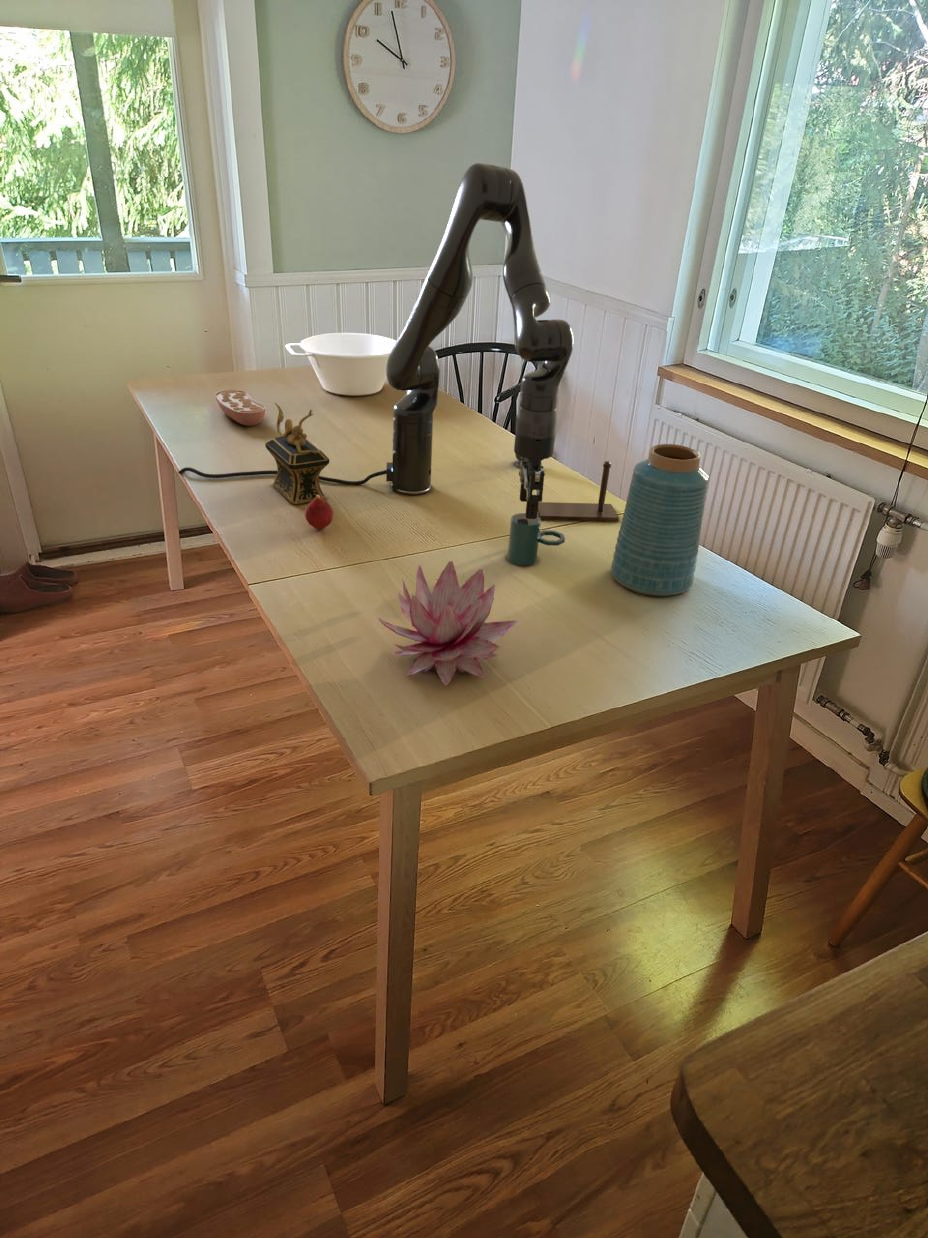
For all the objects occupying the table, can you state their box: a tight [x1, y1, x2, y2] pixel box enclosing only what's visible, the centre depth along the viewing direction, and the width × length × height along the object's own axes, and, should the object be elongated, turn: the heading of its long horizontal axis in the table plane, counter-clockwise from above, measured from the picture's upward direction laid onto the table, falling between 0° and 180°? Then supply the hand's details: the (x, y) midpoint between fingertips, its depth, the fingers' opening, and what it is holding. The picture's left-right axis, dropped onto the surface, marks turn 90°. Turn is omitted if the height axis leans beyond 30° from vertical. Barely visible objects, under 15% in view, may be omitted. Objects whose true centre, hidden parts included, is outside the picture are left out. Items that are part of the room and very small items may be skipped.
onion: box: [304, 495, 334, 531], centre depth 177 cm, size 6×6×8 cm
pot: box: [285, 332, 398, 397], centre depth 268 cm, size 40×32×14 cm
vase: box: [610, 443, 710, 597], centre depth 161 cm, size 16×16×27 cm
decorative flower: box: [376, 560, 518, 686], centre depth 134 cm, size 21×21×15 cm
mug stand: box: [537, 460, 620, 523], centre depth 191 cm, size 18×8×13 cm, turn 94°
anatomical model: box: [214, 389, 266, 427], centre depth 238 cm, size 23×10×5 cm, turn 32°
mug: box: [507, 512, 566, 567], centre depth 170 cm, size 11×6×9 cm, turn 94°
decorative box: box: [264, 402, 330, 505], centre depth 192 cm, size 20×10×20 cm, turn 31°
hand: (527, 509), depth 167 cm, fingers open, 8 cm apart
